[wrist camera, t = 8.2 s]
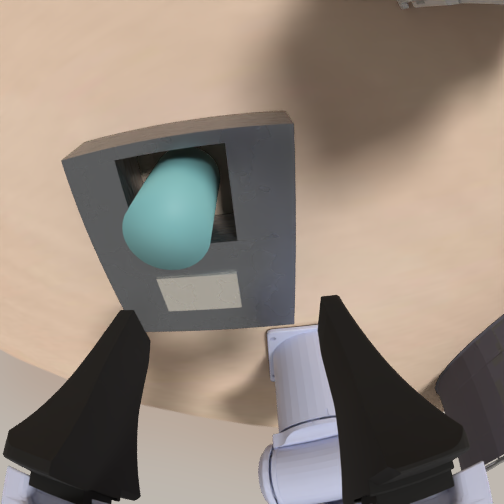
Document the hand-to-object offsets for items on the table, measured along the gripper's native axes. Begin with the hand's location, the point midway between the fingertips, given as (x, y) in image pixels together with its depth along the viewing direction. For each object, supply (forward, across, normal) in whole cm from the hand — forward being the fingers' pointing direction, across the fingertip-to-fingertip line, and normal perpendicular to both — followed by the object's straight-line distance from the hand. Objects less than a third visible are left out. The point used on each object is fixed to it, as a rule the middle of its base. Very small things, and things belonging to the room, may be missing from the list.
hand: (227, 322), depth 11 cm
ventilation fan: (+10, -42, +30) cm, 53 cm away
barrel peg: (+9, +2, -2) cm, 10 cm away
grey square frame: (+9, +3, +1) cm, 10 cm away
